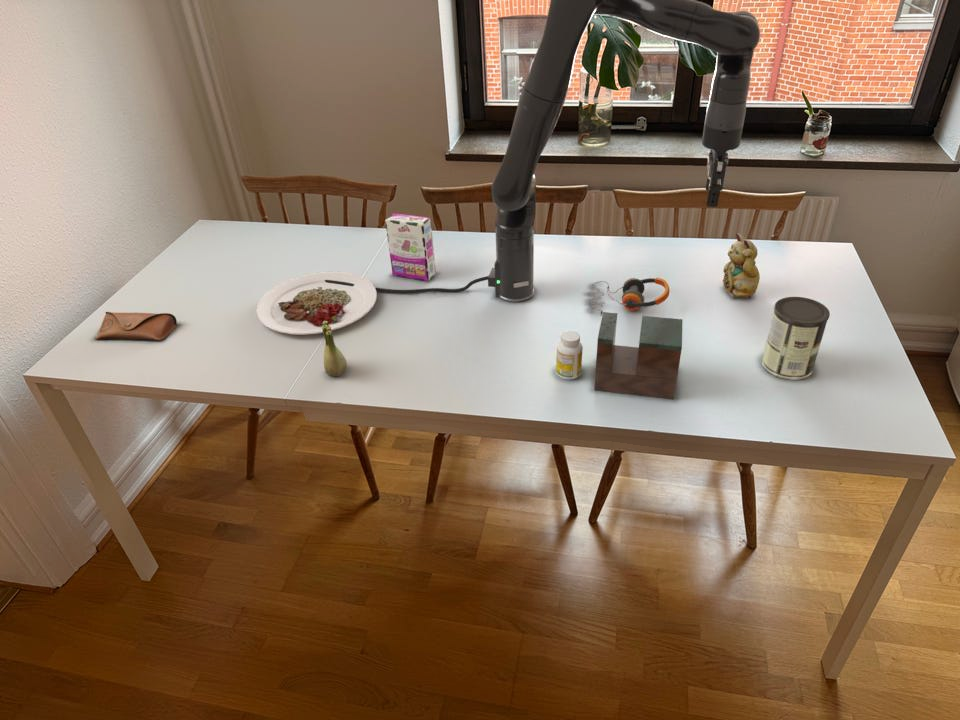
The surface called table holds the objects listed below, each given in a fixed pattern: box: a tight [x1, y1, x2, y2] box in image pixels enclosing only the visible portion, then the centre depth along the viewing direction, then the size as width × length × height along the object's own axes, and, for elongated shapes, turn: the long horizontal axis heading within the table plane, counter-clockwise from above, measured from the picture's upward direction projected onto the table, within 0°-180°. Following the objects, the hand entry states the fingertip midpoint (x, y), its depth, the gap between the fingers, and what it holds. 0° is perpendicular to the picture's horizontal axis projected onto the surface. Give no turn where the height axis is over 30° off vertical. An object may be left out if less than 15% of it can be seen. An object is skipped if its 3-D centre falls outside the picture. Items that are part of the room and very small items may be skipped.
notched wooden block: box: [593, 311, 683, 400], centre depth 140 cm, size 16×10×13 cm, turn 76°
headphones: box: [587, 277, 670, 317], centre depth 168 cm, size 17×5×20 cm
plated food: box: [256, 271, 378, 336], centre depth 173 cm, size 30×30×3 cm
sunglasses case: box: [94, 311, 178, 341], centre depth 168 cm, size 18×7×7 cm
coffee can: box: [761, 296, 831, 381], centre depth 142 cm, size 10×10×14 cm
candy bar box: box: [384, 213, 437, 282], centre depth 181 cm, size 11×5×16 cm, turn 68°
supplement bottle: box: [555, 330, 584, 380], centre depth 144 cm, size 5×5×10 cm
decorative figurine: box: [722, 232, 761, 299], centre depth 167 cm, size 10×8×15 cm
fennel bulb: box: [322, 321, 348, 377], centre depth 148 cm, size 6×5×12 cm
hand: (711, 198), depth 148 cm, fingers open, 8 cm apart
